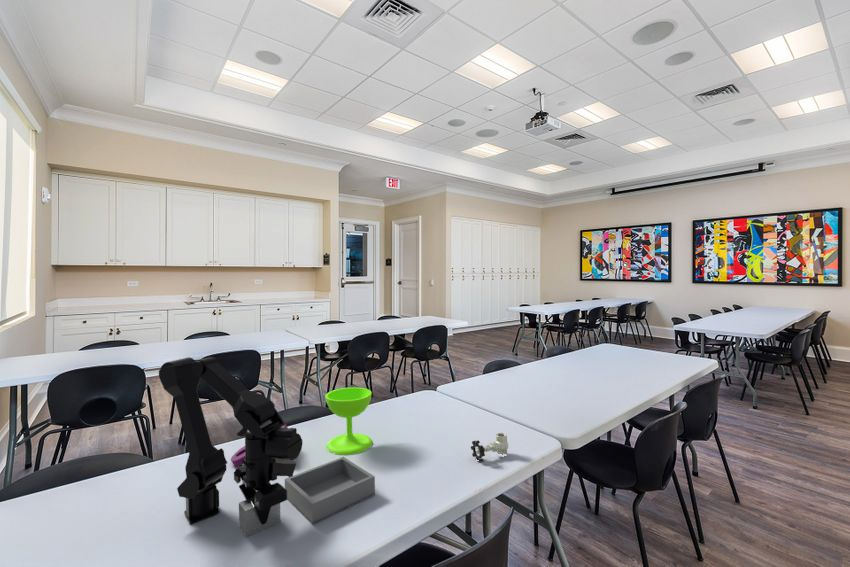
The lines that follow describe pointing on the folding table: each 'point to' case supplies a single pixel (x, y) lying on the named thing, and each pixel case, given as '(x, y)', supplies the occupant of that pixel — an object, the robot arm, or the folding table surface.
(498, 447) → the valve
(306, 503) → the open box
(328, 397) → the wineglass
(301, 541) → the folding table surface
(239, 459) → the mounting bracket
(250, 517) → the grey bevelled block
